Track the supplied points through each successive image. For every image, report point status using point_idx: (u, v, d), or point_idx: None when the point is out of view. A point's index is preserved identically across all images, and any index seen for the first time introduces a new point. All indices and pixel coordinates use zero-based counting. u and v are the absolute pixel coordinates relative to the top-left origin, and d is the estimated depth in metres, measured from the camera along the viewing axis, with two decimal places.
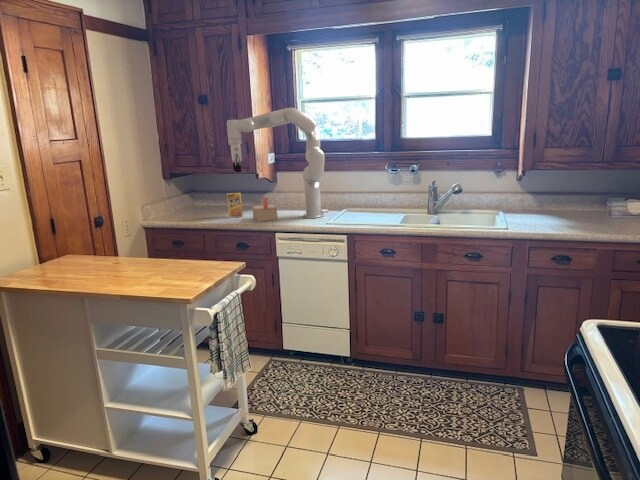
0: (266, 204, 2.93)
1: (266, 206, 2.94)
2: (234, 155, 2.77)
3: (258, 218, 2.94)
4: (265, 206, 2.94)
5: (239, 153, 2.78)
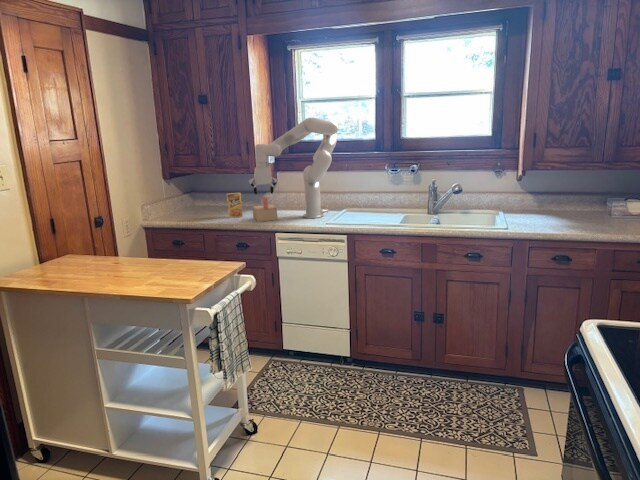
0: (266, 204, 2.93)
1: (266, 206, 2.94)
2: (271, 177, 2.91)
3: (258, 218, 2.94)
4: (265, 206, 2.94)
5: None
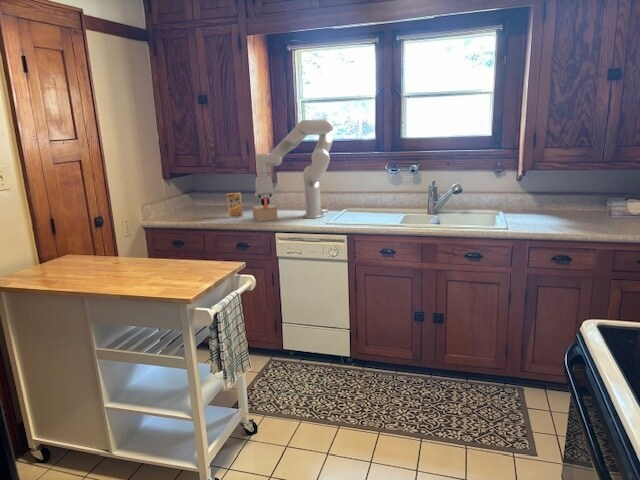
0: (266, 204, 2.93)
1: (266, 206, 2.94)
2: (272, 187, 2.93)
3: (258, 218, 2.94)
4: (265, 206, 2.94)
5: None
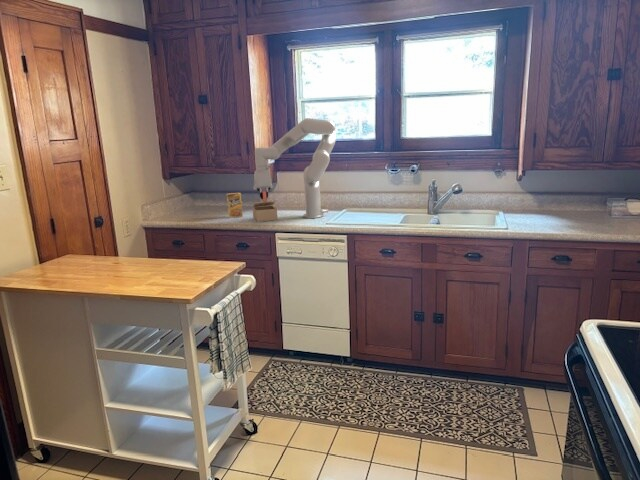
0: (265, 196, 2.94)
1: (265, 198, 2.94)
2: (271, 180, 2.95)
3: (258, 218, 2.94)
4: (264, 198, 2.94)
5: None
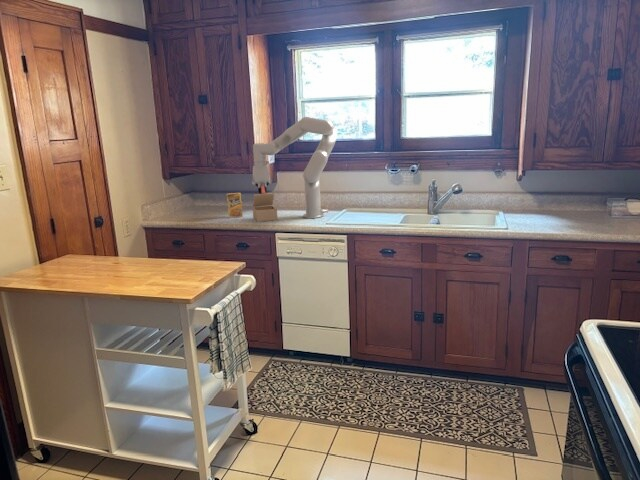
0: (263, 189, 2.98)
1: (263, 191, 2.97)
2: (269, 175, 2.99)
3: (258, 218, 2.94)
4: (262, 191, 2.97)
5: None
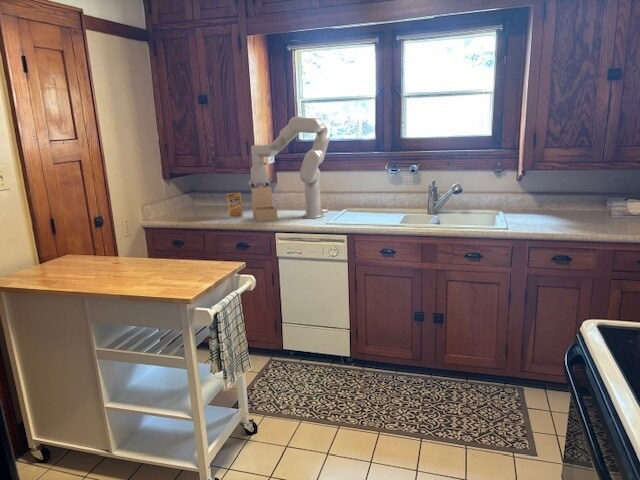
0: (261, 186, 3.06)
1: (261, 186, 3.05)
2: None
3: (258, 218, 2.94)
4: (260, 186, 3.05)
5: None
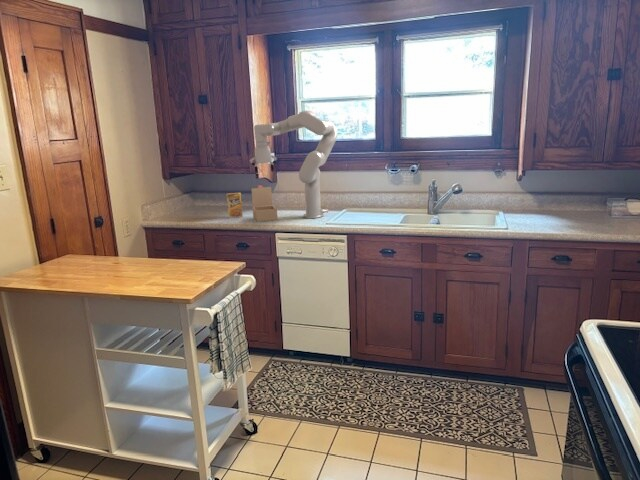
0: (261, 186, 3.06)
1: (261, 186, 3.05)
2: (271, 156, 3.06)
3: (258, 218, 2.94)
4: (260, 186, 3.05)
5: None
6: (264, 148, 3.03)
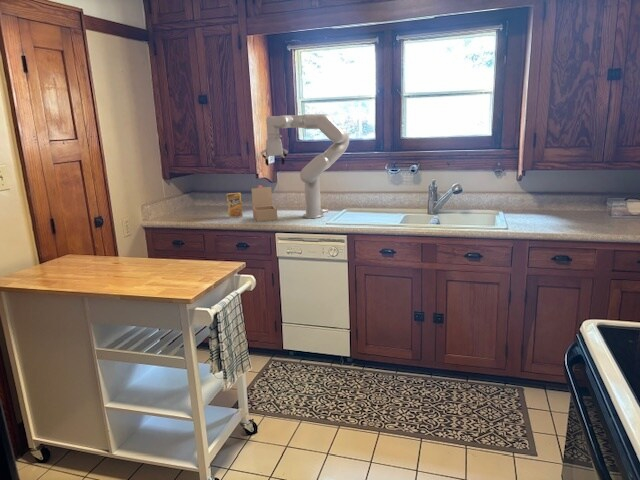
0: (261, 186, 3.06)
1: (261, 186, 3.05)
2: None
3: (258, 218, 2.94)
4: (260, 186, 3.05)
5: None
6: (276, 140, 2.96)
